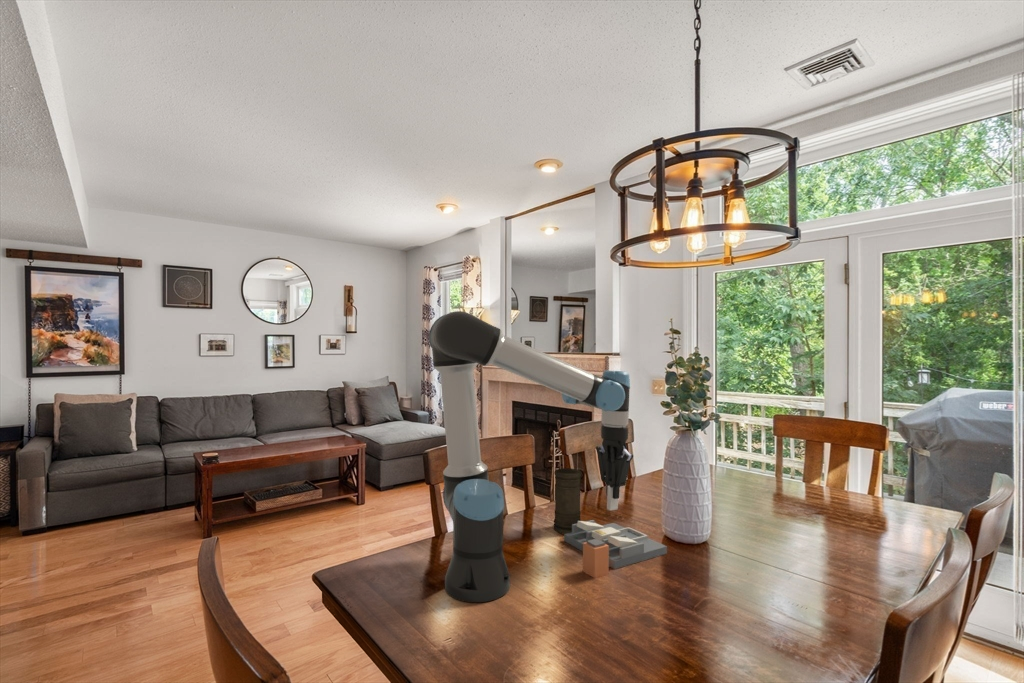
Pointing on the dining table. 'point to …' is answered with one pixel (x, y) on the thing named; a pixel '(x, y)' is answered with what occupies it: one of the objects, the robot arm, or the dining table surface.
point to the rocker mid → (605, 533)
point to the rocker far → (588, 526)
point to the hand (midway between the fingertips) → (612, 509)
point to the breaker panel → (620, 554)
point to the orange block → (595, 558)
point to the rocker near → (621, 541)
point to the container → (567, 499)
